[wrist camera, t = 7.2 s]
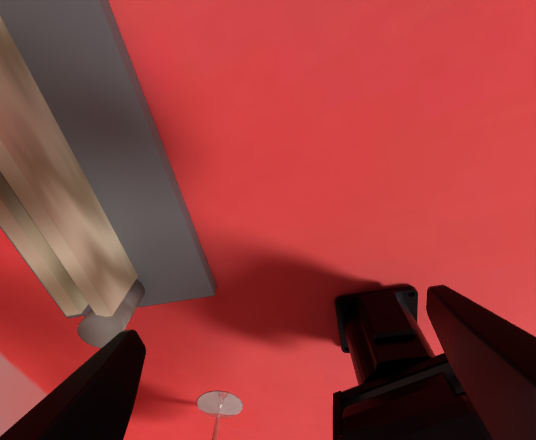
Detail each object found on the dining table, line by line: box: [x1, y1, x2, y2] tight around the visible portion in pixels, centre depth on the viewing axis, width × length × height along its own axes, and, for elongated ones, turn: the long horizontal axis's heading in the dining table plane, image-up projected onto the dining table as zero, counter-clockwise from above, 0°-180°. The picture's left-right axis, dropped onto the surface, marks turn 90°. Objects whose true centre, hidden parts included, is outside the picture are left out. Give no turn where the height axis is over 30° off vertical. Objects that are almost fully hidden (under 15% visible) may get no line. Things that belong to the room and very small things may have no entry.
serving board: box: [0, 0, 217, 318], centre depth 19 cm, size 22×13×1 cm, turn 12°
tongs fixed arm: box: [0, 16, 145, 348], centre depth 17 cm, size 20×3×4 cm, turn 12°
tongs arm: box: [0, 171, 88, 316], centre depth 16 cm, size 17×1×4 cm, turn 12°
